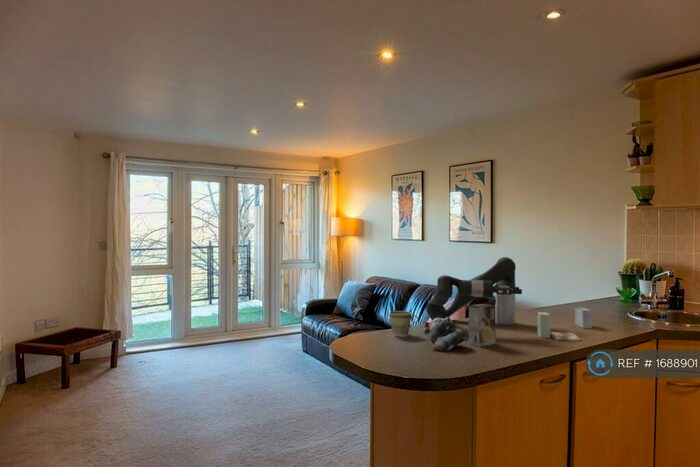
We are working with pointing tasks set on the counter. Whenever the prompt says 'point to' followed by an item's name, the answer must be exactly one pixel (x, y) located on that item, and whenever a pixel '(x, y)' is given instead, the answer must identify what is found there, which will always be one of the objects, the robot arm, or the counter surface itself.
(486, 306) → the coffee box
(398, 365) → the counter surface
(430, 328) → the grey stuffed animal
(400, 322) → the ceramic cup
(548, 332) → the sage block
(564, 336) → the beech board
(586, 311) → the medicine box
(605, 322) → the counter surface
